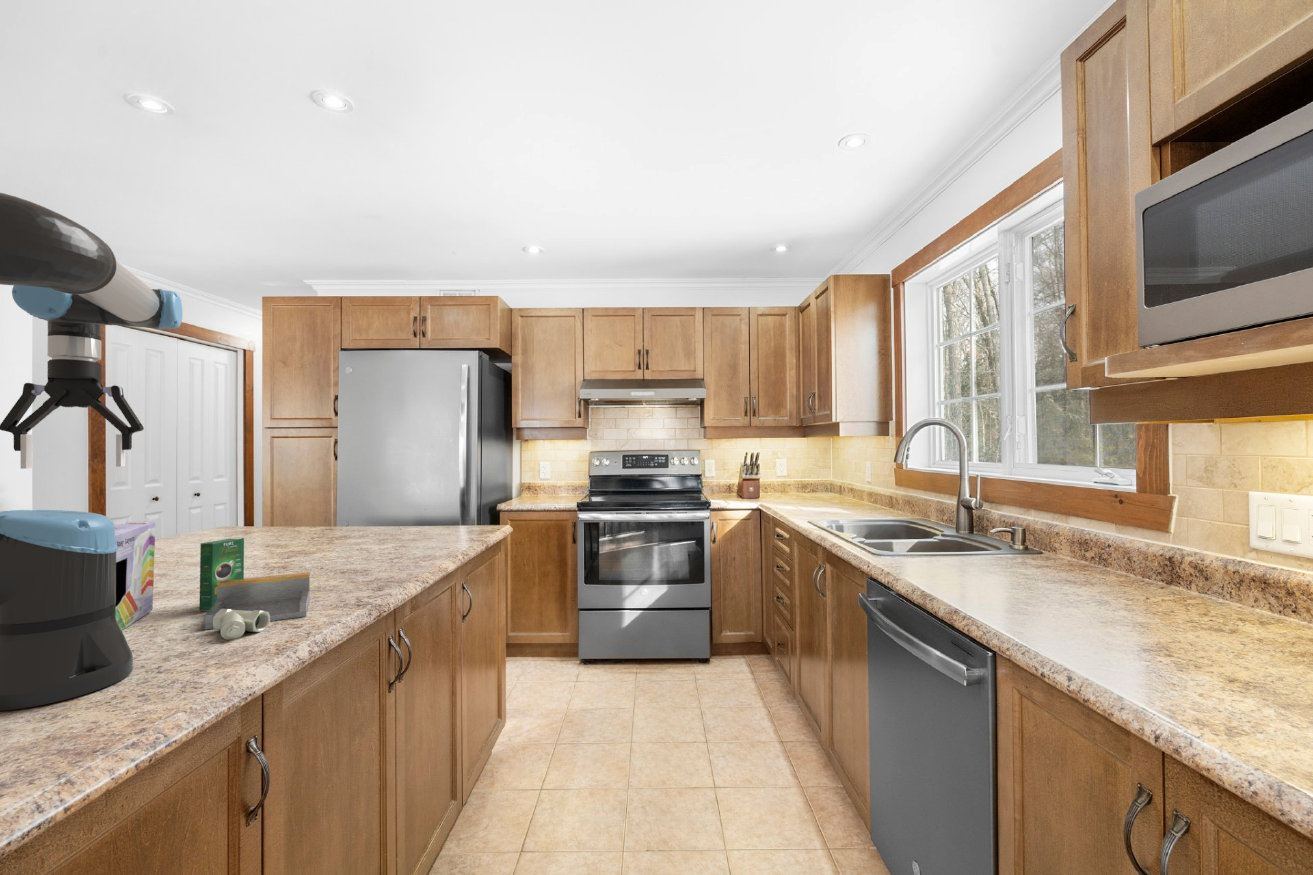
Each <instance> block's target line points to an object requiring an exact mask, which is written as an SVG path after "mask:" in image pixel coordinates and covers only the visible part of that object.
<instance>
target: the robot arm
mask: <svg viewBox="0 0 1313 875" xmlns="http://www.w3.org/2000/svg"><path fill="white" fill-rule="evenodd" d="M0 285H3V286H13V287H12V290H11V295H12V296H11V297H12V299H13V301H14V303H15V304H16V305H17V307H19V308H20V309H21V310H23V311H24V312H26V313H27V314H28V315H30V316H33V317H34V318H38V319H40V320H44V321H47V357H48V358H51V359H49V360H48V361H47V375H46V376H47V382H46V384H45V385H42V384H36V383H32V382H25V383H24V384H23V388H22V393H21V395H20V397H18V399H17V401H15V403H14V404H13V406H12V407H11V409H10V410H9V412H8V413H7V414H6V416H5V417H4V419H3V420H2V422H0V431H4V432H7V433H8V432H9V433H11V434H12V435H13V450H14V451H15V452H20V470H21V469H22V470H23V469H34V435H33V434H29V432H30V431H31V430H32V429H33V428H35V427H36V426H37V425H38V424H39V423H40V422H42V421H43V420H45V419H46V417H47V416H49V415H50V414H51V413H53V411H55V410H57V409H58V408H60V407H63V408H86V409H87V408H92V409H94V410H95V411H96V412H98V413H99V415H101V416H102V417H103V418H104V419H106V420H107V421H108V422H109V424H111V425H112V426H113V427H114V428H116V429H117V431H119V432H120V434H119V433H118V434H117V433H116V434H115V467H118V468H119V467H120V468H121V467H126V451H130V450H132V448H133V447H132V446H133V445H132V443H133V438H132V437H133V434H135V433H138V432H142V431H144V429H145V428H144V426H143V424H142V423H141V421H140V419H139V417H137V415H136V414H135V412H134V410H133V409H132V407H131V406H130V404H129V402H128V401H127V399H126V398H125V395H124V389H123V387H122V386H119V385H115V384H114V385H112V386H103V384H102V381H103V380H102V364H101V363H100V362H98V361H101V360H102V326H118V327H119V326H120V327H121V326H122V327H131V328H132V327H135V328H144V329H145V328H148V329H156V330H161V329H163V330H166V329H168V330H175V329H178V328H180V326H181V324H182V322H183V306H182V305H183V304H182V299H181V297H180V296H179V294H178V292H176V291H172V290H165V289H162V288H158V289H155V288H151V287H150V286H148V285H147V284H146V283H145V282H143V281H142V280H141V279H140V278H138V277H137V276H136V275H135V274H134V273H132V271H130V270H129V269H127V268H126V267H125V266H123V265H122V264H121V263H120V262H119V261H117V258H116V255H115V253H114V251H113V250H112V248H111V247H110V246H109V245H108V244H107V243H106V242H105V241H104V240H103V239H101V237H99V236H98V235H97V234H95V233H93V232H92V231H90V230H89V229H88V228H87V227H85V226H83V225H81V223H80V224H79V223H78V222H77V221H74V220H72V219H71V218H68V217H67V216H64V215H62V214H61V213H59V212H56V211H54V210H52V209H49V208H47V207H45V206H43V205H40V204H38V203H36V202H32V201H30V200H27V199H24V198H20V197H18V196H16V195H15V196H14V195H11V194H7V193H3V192H0ZM43 392H45V393H46V395H48V396H49V398H47V399H46V400H45V401H44V402H43V403H42V405H40V406H39V407H38V408H37V409H36V410H34V411H33V412H32V413H31V414H29V415H28V416H27V417H26V418H25V419H23V420H22V418H23V417H24V416H25V414H26V413H27V411H28V410H29V408H31V406H32V405H33V403H34V402H35V401H36V398H37V396H41V394H42V393H43ZM104 394H107V396H108V397H111V398H112V399H113V401H114V403H115V404H116V406H117V407H118V409H119V411H120V412H121V413H122V415H123V416H124V418H125V420H126V421H127V422H128V424H129V425H130V426H128V425H127V424H126V423H125V422H124V421H123V420H122V419H120V418H119V417H118V415H116V414H115V413H114V412H113V411H112V410H110V409H109V408H108V407H107V406H106V404H104V403H103V402H102V401H101V400H100V398H101V397H102V396H103V395H104ZM21 420H22V421H21ZM20 421H21V422H20ZM114 526H115V524H114V522H113V521H112V520H111V518H110V517H107V516H106V515H104V514H99V513H95V512H89V511H78V510H77V511H76V510H62V509H61V510H60V509H56V510H55V509H33V510H32V509H18V510H17V509H15V510H12V509H11V510H3V511H0V712H4V711H12V710H13V711H14V710H21V709H26V708H28V709H29V708H32V707H38V706H43V705H48V704H52V703H58V702H62V701H65V700H69V699H73V698H76V697H80V696H83V695H86V694H90V693H93V692H95V691H99V690H102V689H104V688H106V687H109V686H112V685H113V684H115V683H118V682H120V681H121V680H123V679H126V677H128V676H129V675H131V673H132V672H133V670H134V666H133V665H134V662H133V661H134V660H133V652H132V649H131V648H130V645H129V643H128V641H127V639H126V637H125V635H124V633H123V630H121V628H120V626H119V624H118V622H117V620H116V551H117V550H118V548H117V545H116V541H115V527H114Z"/></svg>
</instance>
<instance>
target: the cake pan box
mask: <svg viewBox="0 0 1313 875" xmlns="http://www.w3.org/2000/svg"><path fill="white" fill-rule="evenodd" d="M114 527H115V541H116V545H117V548H118V550H117V551H116V620H117V622H118V624H119V626H120V628H121V630H122V631H124V630H125V629H126V628H127V627H130V625H132V624H134V623H136V622H137V621H138V620H140V619H141V618H143V617H144V616H145V615H147V614H148V613H149V614H150V613H151V611H153V610H154V609H153V608H154V607H153V604H154V581H155V580H154V577H155V575H154V574H155V573H154V572H155V569H154V568H155V567H154V566H155V549H156V548H155V546H156V545H155V544H156V521H126V522H125V523H120V524H118V525H114Z"/></svg>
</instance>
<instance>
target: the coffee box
mask: <svg viewBox="0 0 1313 875" xmlns="http://www.w3.org/2000/svg"><path fill="white" fill-rule="evenodd" d="M199 547H200V556H199V557H200V563H199V568H200V570H199V612H200V611H201V612H208V611H209V609H210V608H211V607H212V606H213V605H214V603H215V602H216V601H217V583H218V582H219V581H225V580H236V579H245V576H244V575H245V538H244V537H229V538H224V539H220V540H213V541H209V542H202V543H200V546H199Z"/></svg>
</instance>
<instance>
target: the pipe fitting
mask: <svg viewBox="0 0 1313 875" xmlns="http://www.w3.org/2000/svg"><path fill="white" fill-rule="evenodd" d="M270 624H271V621H270V614H269V612H266V611H260V610H253V611H239V610H231V609H221V610H220V611H218V612H217V613H216V615H215V616H214V617H213V628H214V629H213V630H216V631H220V636H221V637H222V638H223V639H224V640H227V641H229V640H235V639H240V638H242V636H244V634H245V632H250V633H262V632H265V631H266V630H267V628H268V627H269V625H270Z"/></svg>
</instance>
